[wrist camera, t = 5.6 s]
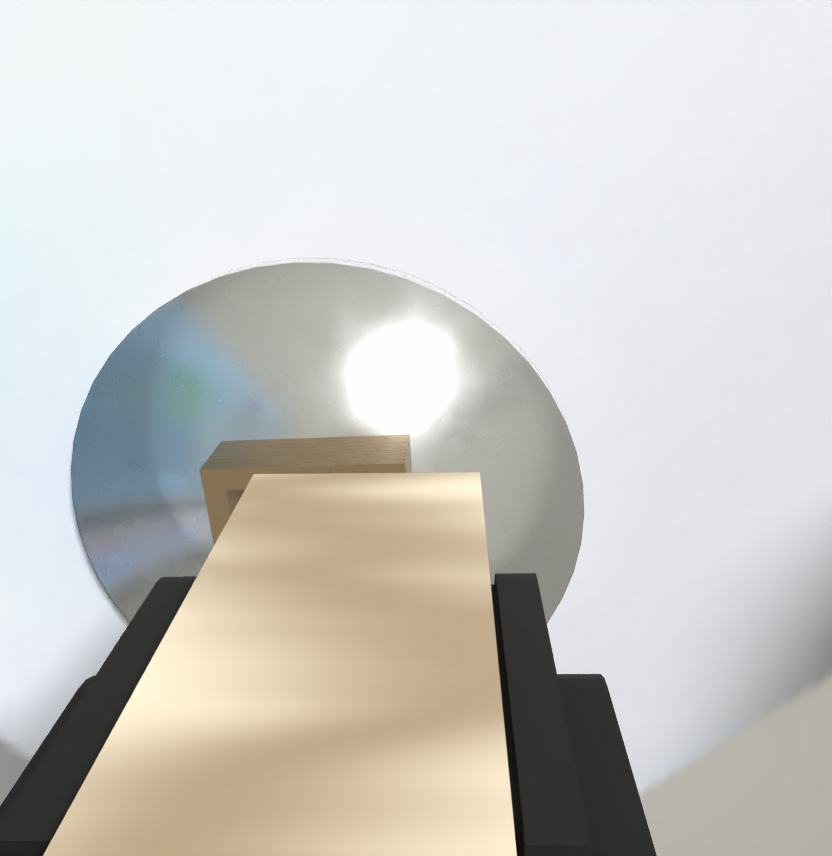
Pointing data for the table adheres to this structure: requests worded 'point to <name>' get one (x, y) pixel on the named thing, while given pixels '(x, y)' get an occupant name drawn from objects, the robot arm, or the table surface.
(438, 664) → the tan block
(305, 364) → the rosette plate
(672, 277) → the table surface
